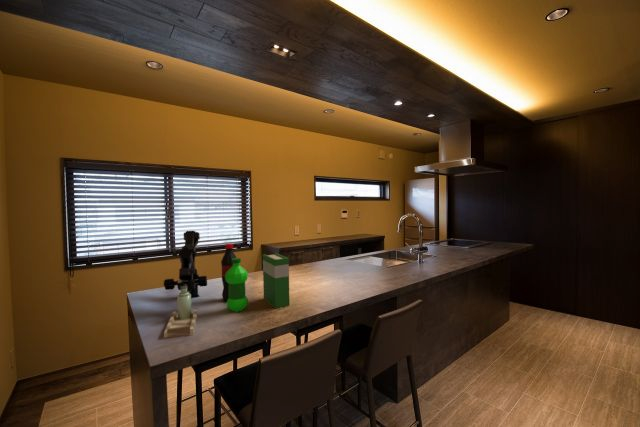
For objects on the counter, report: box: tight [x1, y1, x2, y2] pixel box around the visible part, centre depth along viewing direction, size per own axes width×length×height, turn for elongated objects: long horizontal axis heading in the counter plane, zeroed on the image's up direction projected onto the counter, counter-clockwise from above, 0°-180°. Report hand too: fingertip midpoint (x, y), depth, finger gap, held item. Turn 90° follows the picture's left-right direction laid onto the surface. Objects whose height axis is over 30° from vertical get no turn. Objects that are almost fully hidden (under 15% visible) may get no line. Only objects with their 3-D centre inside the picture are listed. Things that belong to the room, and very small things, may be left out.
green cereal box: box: [262, 252, 290, 309], centre depth 152 cm, size 18×7×24 cm, turn 30°
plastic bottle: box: [225, 257, 249, 313], centre depth 141 cm, size 10×10×25 cm
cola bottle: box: [220, 243, 237, 302], centre depth 156 cm, size 8×8×30 cm
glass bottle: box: [176, 286, 193, 320], centre depth 132 cm, size 6×6×14 cm
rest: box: [163, 308, 199, 339], centre depth 125 cm, size 24×10×4 cm, turn 19°
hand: (185, 298), depth 135 cm, fingers closed
